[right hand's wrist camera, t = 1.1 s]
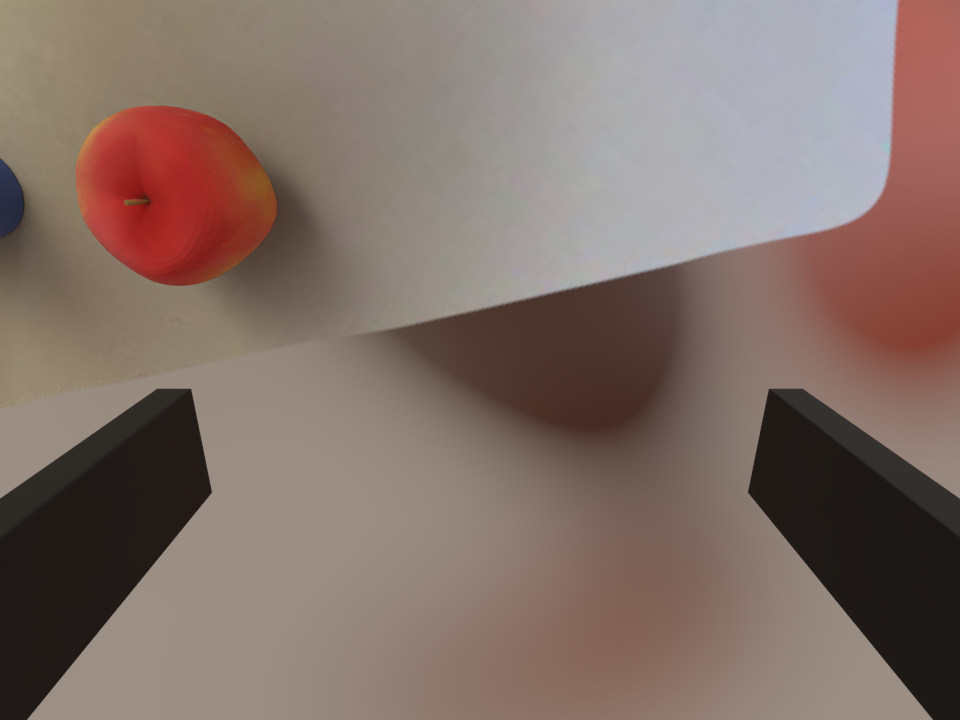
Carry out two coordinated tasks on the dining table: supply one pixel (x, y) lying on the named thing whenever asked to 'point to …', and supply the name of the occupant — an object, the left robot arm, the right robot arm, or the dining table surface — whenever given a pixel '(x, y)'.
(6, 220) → the canister
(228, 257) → the apple
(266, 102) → the dining table surface
